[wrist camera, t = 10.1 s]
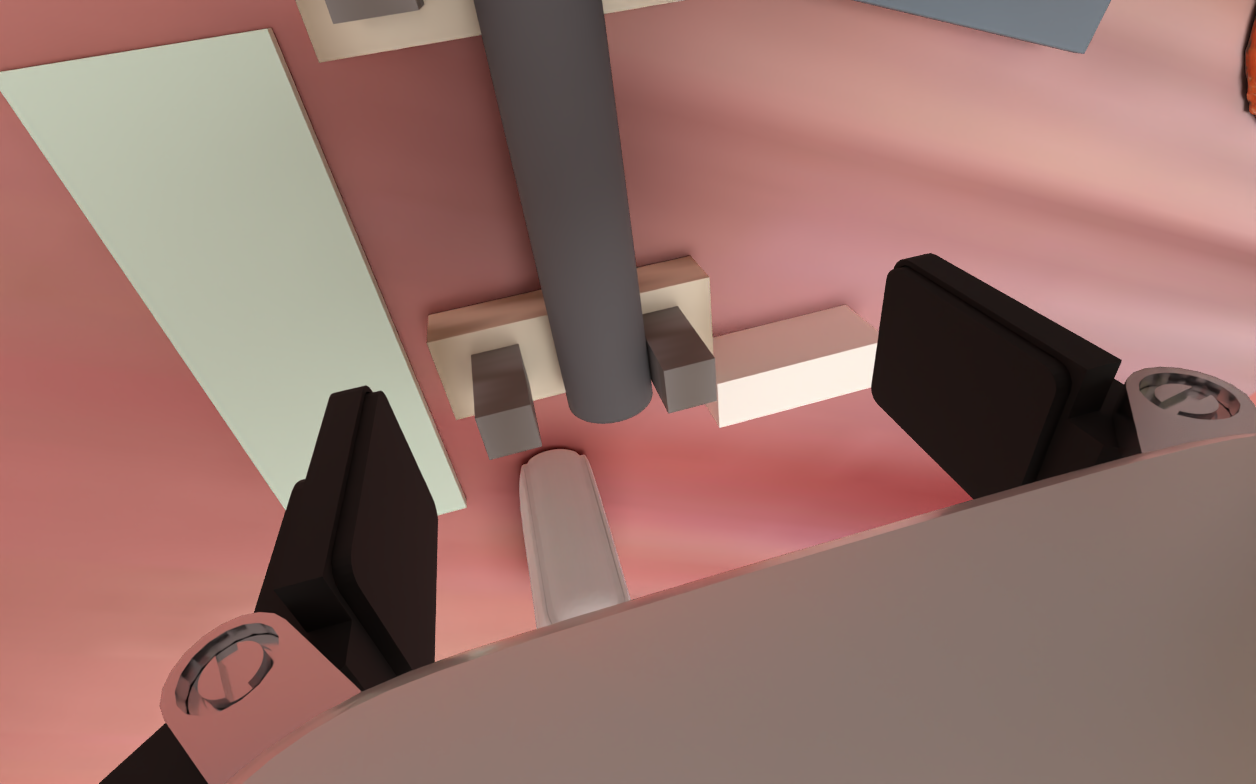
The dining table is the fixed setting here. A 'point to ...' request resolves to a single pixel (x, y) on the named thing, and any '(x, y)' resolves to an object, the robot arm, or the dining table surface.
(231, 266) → the mat
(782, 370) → the beige rectangular block
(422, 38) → the clamp board
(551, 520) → the photo printer
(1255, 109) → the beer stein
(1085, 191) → the dining table surface
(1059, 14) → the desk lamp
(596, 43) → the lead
